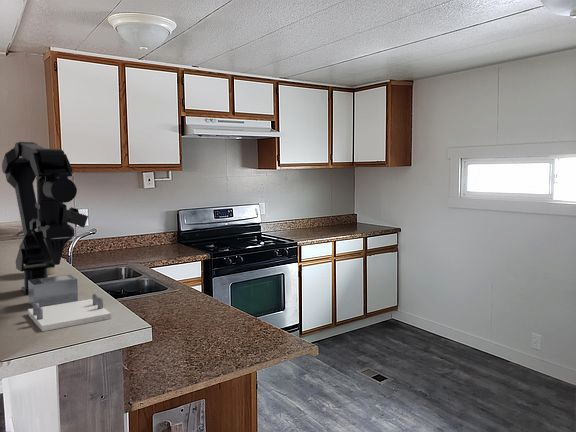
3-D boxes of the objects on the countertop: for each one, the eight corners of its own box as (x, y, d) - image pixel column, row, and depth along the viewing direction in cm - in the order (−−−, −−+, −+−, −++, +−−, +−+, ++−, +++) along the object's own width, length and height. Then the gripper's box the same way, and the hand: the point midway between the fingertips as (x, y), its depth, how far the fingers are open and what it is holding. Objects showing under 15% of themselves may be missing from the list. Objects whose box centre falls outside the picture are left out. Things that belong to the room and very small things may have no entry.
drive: (28, 303, 119) (28, 279, 119) (70, 296, 126) (70, 274, 125) (34, 309, 115) (33, 284, 114) (77, 302, 121) (77, 278, 120)
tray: (27, 314, 110) (27, 298, 110) (91, 303, 119) (91, 289, 119) (42, 331, 100) (41, 314, 99) (111, 318, 109) (110, 302, 108)
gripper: (95, 201, 115) (97, 264, 117) (73, 196, 130) (75, 252, 131) (45, 203, 108) (48, 269, 110) (28, 197, 123) (30, 256, 124)
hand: (52, 261), depth 119 cm, fingers open, 9 cm apart
